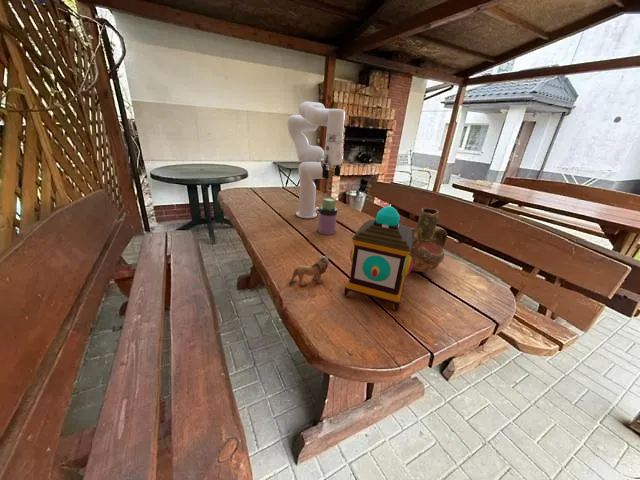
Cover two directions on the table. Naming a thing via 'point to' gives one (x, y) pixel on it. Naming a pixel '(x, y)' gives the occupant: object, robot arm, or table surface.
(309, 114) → the robot arm
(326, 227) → the jar
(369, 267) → the decorative lantern
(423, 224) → the ceramic vessel
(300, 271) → the lion figurine
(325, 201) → the block
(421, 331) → the table surface
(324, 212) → the jar lid
